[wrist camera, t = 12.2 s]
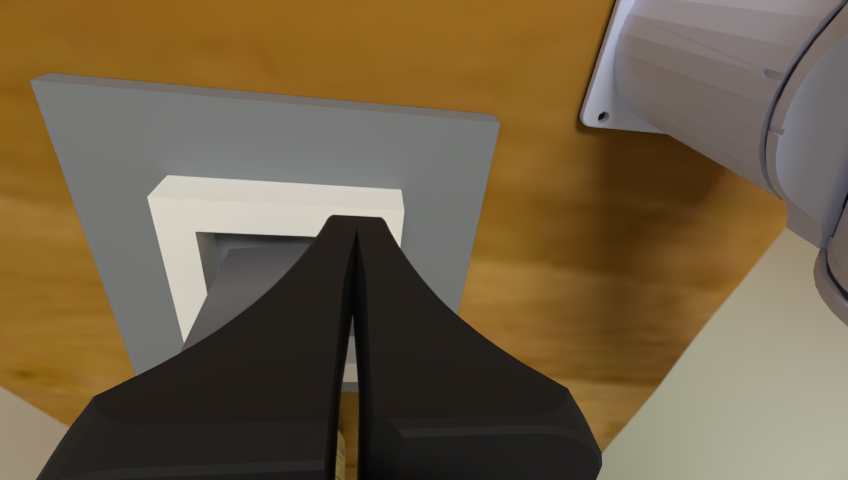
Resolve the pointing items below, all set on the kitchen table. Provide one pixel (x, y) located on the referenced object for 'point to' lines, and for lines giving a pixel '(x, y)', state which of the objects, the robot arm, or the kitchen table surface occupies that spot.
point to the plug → (241, 285)
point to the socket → (252, 188)
